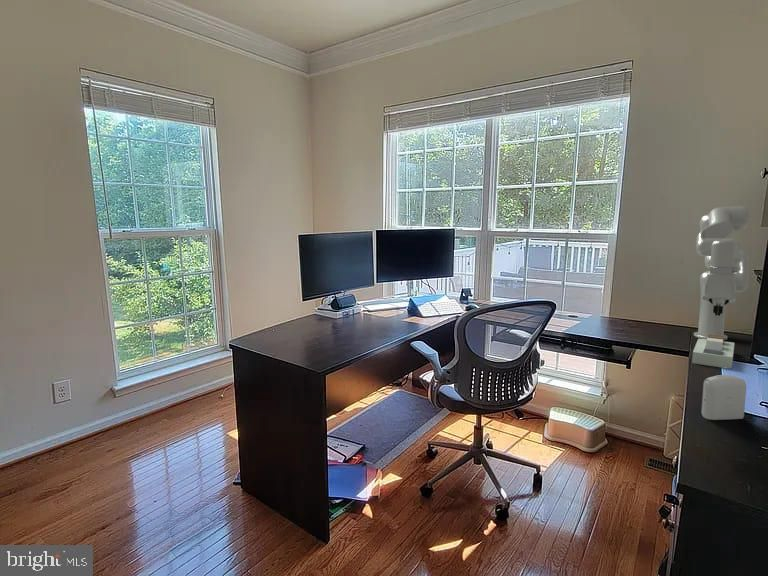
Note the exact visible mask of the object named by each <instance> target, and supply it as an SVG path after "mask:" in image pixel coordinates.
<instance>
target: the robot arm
mask: <svg viewBox="0 0 768 576" xmlns="http://www.w3.org/2000/svg"><path fill="white" fill-rule="evenodd" d="M751 219H752V218H751V210H750V209H749V208H748V207H747V206H745V205H739V206H738V205H734V206H719V207H715V208H713V209H712V210H711V211H709V213H708V214H704V215H703V216H701V217H700V220H699V230H700V232H699V233H698V234H697V236H696V240H695V250H696V254H697V255H698V256H700V257H704V266H705V268H706V269H708V270H707V271H704V272H702V273H701V274H700V276H699V285H700V286H699V287H700V300H699V301H700V304H699V314H698V315H699V317H698V327H697V328H698V330H697V331H695V332H693V336H694V337H695V338H698V339H706V340H707V338H708V335H709V334H717V335H724V341H727V340H728V335H726V334H724V332H725V331H724V330H725V322H726V321H725V319H726V310H727V304H728V303H729V304H731V303H736V302H737V300H736V295H737V293H743V292H745V291H747V290H748V289H749V281H750V279H749V275H750V274H749V273H750V272H749V270H750V269H749V267H750V266H749V265H750V264H749V260H750V259H749V255H748V253H747V252H746V251H745V250H741V243H740V242H739V241H738V240H737V239H736V238H732V237H731V238H729V236H730V235H731V234H732V233H734V231H735V232H741V231H743V230H745V229H747V226H748V225H749V224H750V221H751ZM726 237H727V238H726Z"/></svg>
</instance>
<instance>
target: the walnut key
mask: <svg viewBox="0 0 768 576" xmlns="http://www.w3.org/2000/svg"><path fill="white" fill-rule="evenodd" d="M724 335H725V334H724ZM724 335H717V334H709V335H708V338H714V339H723V342H725V340H724Z"/></svg>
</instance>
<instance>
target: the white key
mask: <svg viewBox="0 0 768 576" xmlns="http://www.w3.org/2000/svg"><path fill="white" fill-rule="evenodd" d="M706 340H707V342H706V346H712V347H720V348H722V347H723V339H714V338H707V339H706Z"/></svg>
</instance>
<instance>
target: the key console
mask: <svg viewBox="0 0 768 576" xmlns="http://www.w3.org/2000/svg"><path fill="white" fill-rule="evenodd" d="M706 342H707V339H702V338H698V339H697V341H696V343H695V346H694V348H693V351H692V360H691V363H692V364H695V365H702V366H703V365H704V366H709V367H717V368H722V367H726V368H725V369H728V368H732V369H733V362H734V353H735V352H734V351H735V342H732V341H724V342H723V347H722V353H721V355H717V354H710V353H704V352H705V347H706Z"/></svg>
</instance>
